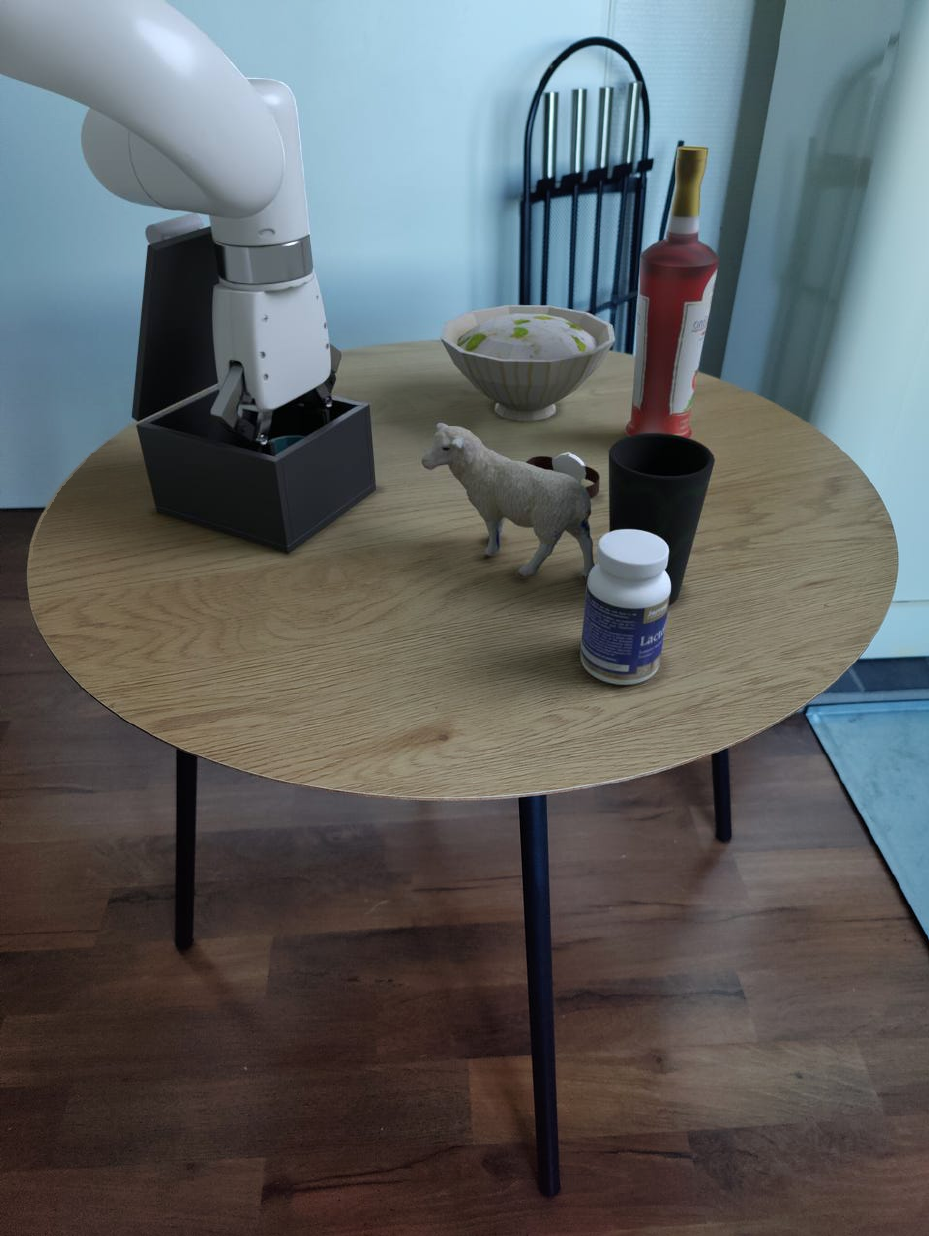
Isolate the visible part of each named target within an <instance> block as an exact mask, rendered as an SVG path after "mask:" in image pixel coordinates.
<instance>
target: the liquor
mask: <svg viewBox="0 0 929 1236" xmlns="http://www.w3.org/2000/svg"><path fill="white" fill-rule="evenodd" d="M708 153H709V147H707V146H704V145H703V146H702V145H680V146H678V147H677V148H676V158H675V165H674V167H675V168H674V169H675V170H674V173H675V188H674V193H673V198H672V203H671V209H670V212H669V217H668V223H667V228H666V233H665V238H664V239H662V240H659V241H656V242H654V243H652V244H651V245H649V246H648V247H646V249H644V250H643V251H641V253H640V255H639V268H638V269H639V273H638V287H637V288H638V289H637V304H636V325H635V326H636V327H635V351H634V353H635V354H634V366H633V367H634V368H633V369H634V370H633V383H632V396H631V397H632V398H631V410H630V420H629V421H628V422H627V424H626V425H625V427H624V429H625V432H626V435H628V436H632V435H636V434H644V433H664V434H673V435H678V436H683V437H686V438H689V439H691V436H692V429H691V427H690V425H689V423H690V417H691V411H692V406H693V399H694V394H695V388H696V382H697V377H698V371H699V366H700V361H701V356H702V350H703V345H704V341H705V340H704V339H705V335H706V331H707V327H708V322H709V317H710V313H711V308H712V307H711V306H712V302H713V296H714V290H715V285H716V280H717V275H718V269H719V264H720V258H721V257H720V256H719V255H718V254H717V253H716V251H714V249H713V248H712V247H711V246H709V245H708V244H706V243H704V242H702V241H700V240H699V233H700V232H699V231H700V206H701V205H700V204H701V185H702V182H703V179H704V176H705V173H706V168H707V163H708Z"/></svg>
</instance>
